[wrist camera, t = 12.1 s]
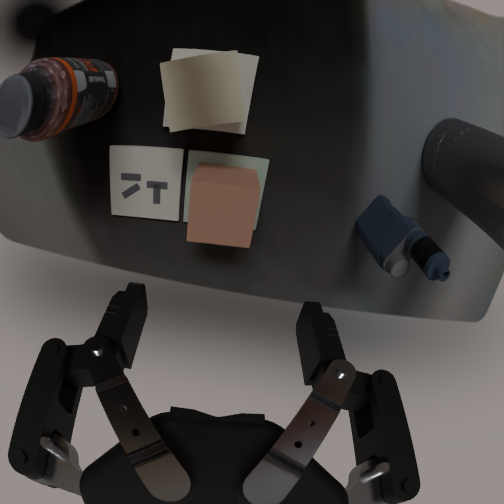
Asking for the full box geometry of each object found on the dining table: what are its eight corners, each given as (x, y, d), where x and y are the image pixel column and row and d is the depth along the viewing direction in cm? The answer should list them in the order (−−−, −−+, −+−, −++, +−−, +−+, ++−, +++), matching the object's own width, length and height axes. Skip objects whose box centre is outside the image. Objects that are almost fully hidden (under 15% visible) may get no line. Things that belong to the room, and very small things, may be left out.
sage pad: (268, 159, 24) (269, 160, 24) (255, 227, 28) (255, 229, 27) (189, 149, 23) (189, 150, 23) (183, 219, 27) (183, 221, 26)
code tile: (184, 149, 23) (183, 150, 22) (178, 219, 27) (178, 221, 26) (111, 145, 22) (109, 146, 21) (113, 212, 26) (111, 214, 25)
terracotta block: (256, 169, 24) (260, 189, 20) (246, 219, 27) (249, 248, 22) (199, 162, 23) (191, 181, 19) (194, 213, 26) (186, 241, 22)
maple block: (236, 58, 18) (236, 50, 14) (242, 114, 21) (244, 121, 17) (175, 67, 18) (159, 63, 14) (183, 122, 21) (170, 132, 17)
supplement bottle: (127, 60, 18) (53, 53, 8) (115, 123, 21) (42, 158, 11) (72, 60, 16) (-12, 64, 7) (63, 119, 20) (-18, 153, 10)
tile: (258, 56, 19) (259, 56, 18) (244, 133, 22) (244, 134, 22) (174, 49, 18) (173, 48, 17) (164, 125, 21) (162, 126, 21)
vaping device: (395, 203, 27) (461, 271, 17) (364, 237, 29) (414, 316, 19) (381, 189, 26) (450, 256, 16) (349, 226, 28) (400, 306, 18)
